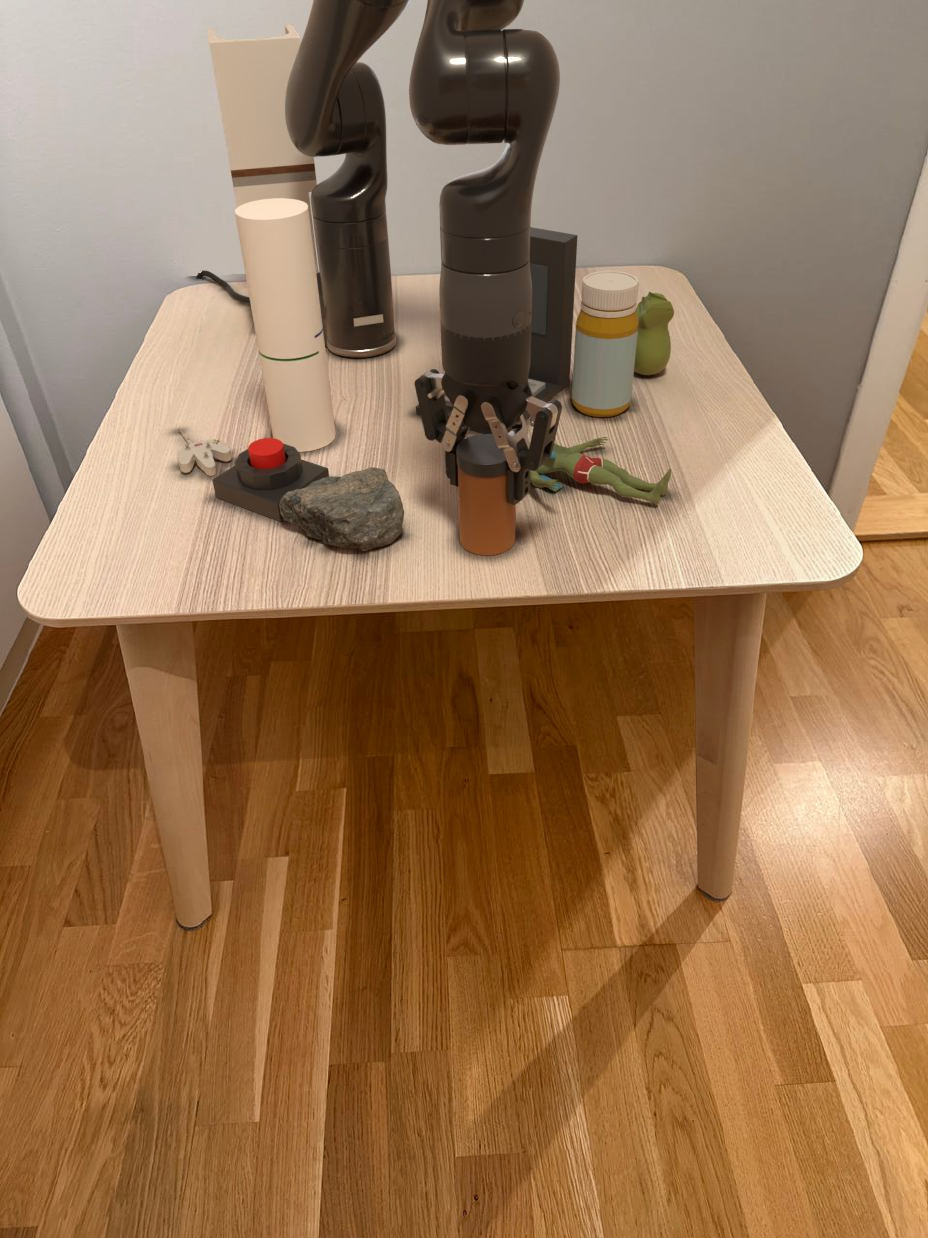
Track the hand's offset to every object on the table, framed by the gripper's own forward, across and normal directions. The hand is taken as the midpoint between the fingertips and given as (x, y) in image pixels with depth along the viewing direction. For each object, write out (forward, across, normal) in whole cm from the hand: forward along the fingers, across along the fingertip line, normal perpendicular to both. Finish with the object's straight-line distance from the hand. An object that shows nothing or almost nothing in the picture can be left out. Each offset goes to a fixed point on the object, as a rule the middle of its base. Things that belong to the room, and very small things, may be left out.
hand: (487, 490), depth 87 cm
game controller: (+6, +37, +2) cm, 37 cm away
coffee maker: (+6, +15, -26) cm, 31 cm away
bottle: (+6, +3, -31) cm, 32 cm away
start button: (+2, +24, +4) cm, 24 cm away
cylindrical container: (+6, +29, -7) cm, 30 cm away
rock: (+6, +13, +6) cm, 15 cm away
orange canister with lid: (+6, 0, 0) cm, 6 cm away
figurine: (+6, -3, -14) cm, 15 cm away
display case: (+6, +55, -35) cm, 65 cm away
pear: (+6, +2, -42) cm, 42 cm away
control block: (+6, +24, +4) cm, 25 cm away
